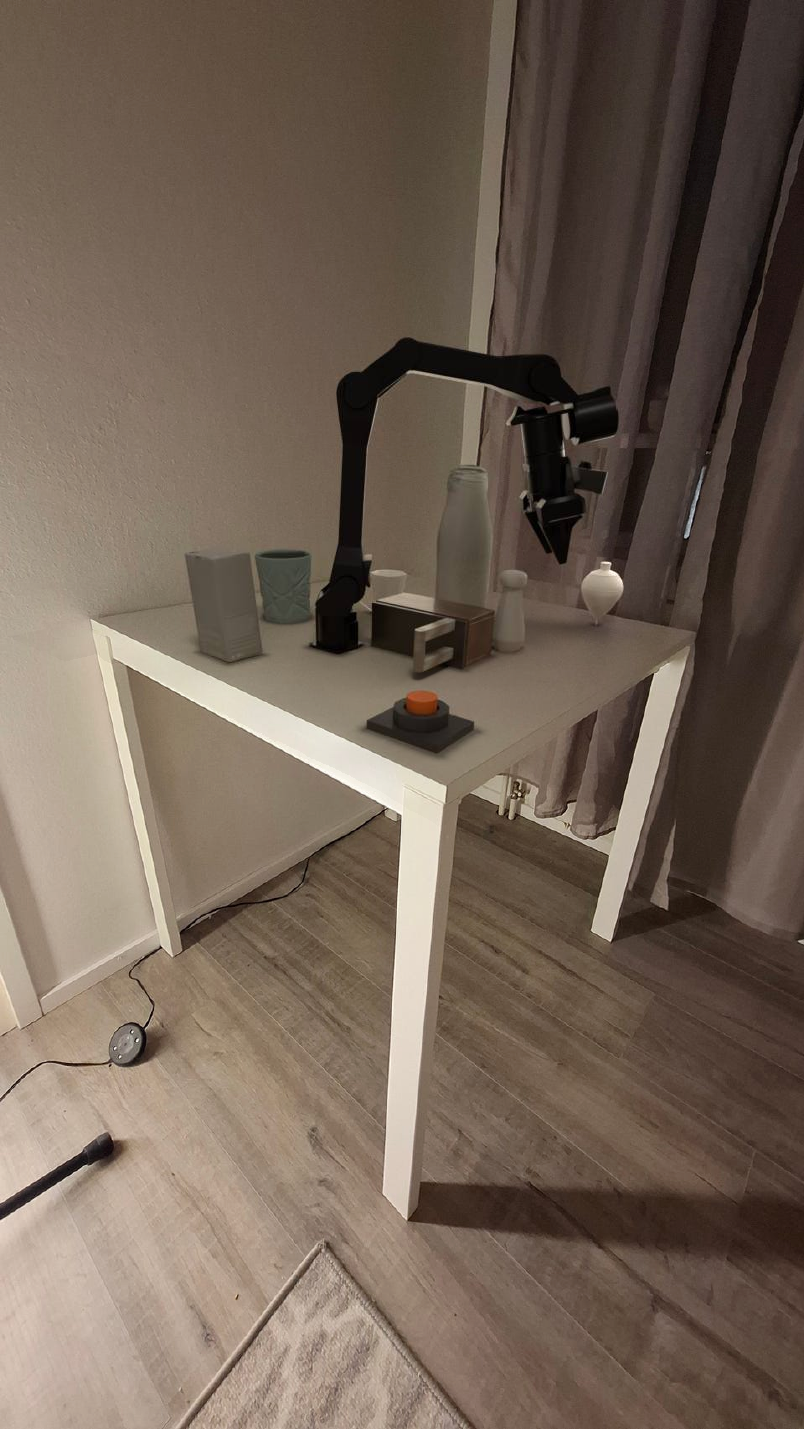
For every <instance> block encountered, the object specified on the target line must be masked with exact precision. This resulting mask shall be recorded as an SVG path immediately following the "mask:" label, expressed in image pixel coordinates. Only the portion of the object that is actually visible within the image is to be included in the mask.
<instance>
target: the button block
mask: <svg viewBox="0 0 804 1429" xmlns="http://www.w3.org/2000/svg"><path fill="white" fill-rule="evenodd" d="M474 729H475V721H474V720H471V719H467V718H464V717H460V716H458V715H454V714H451V713H450V705H448V704H447V703H446V702H444V700H442V699H439V698H437V711H436V712H435V713H431V714H414V713H411V712H408V711H407V710H406V697H403V698H400V699H398V700H396V701H395V702H394V704H393V707H390V708H388V709H386V710H385V711H382V712H381V713H378V714H376V715H375V716H371V717H370V718H368V719H366V730H369V731H371V732H374V733H376V734H379V735H382V736H384V737H388V738H391V739H394V740H395V741H400V742H402V743H405V744H407V745H411V746H413V747H416V748H419V749H422V750H425V751H428V752H430V753H433V754H436V755H438V754H440V753H441V752H443V751H444V750H446V749H447V748H448V747H450V746H452V745H453V744H455V743H456V742H458V741H459V740H461V739H462V738H464V737H465V736H467V735H468V734H470V733H472V732H473V731H474Z"/></svg>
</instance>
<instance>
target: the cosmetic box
mask: <svg viewBox="0 0 804 1429" xmlns="http://www.w3.org/2000/svg"><path fill="white" fill-rule="evenodd" d="M184 559H185V565H186V571H187V576H188V583H189V589H190V595H191V601H192V607H193V614H194V619H195V626H196V631H197V637H198V643H199V649H200V650H199V651H200V652H201V653H204V654H206V655H209V656H211V657H213V658H216V659H219V660H222V661H224V662H227V663H232V662H237V661H240V660H243V659H246V658H251V657H256V656H261V655H263V645H262V638H261V630H260V622H259V616H258V607H257V606H258V605H257V599H256V598H257V597H256V592H255V591H256V590H255V584H254V582H255V581H254V576H253V569H252V568H253V567H252V559H251V553H250V552H249V551H241V550H235V549H230V548H224V547H215V548H210V549H202V550H196V551H195V550H194V551H189V552H185V553H184Z"/></svg>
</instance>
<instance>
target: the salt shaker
mask: <svg viewBox="0 0 804 1429" xmlns="http://www.w3.org/2000/svg"><path fill="white" fill-rule="evenodd" d="M527 583H528V575H527V573H526V572H524V571H522V570H519V569H507V570H504V571H502V572H501V574H500V578H499V584H500V585H501V586H502V589H501V592H500V593H501V594H500V598H499V601H498V604H497V608H496V610H495V616H494V626H493V637H492V647H493V649H495V650H496V651H497V652H502V653H516V652H518V651H520V649H521V648H522V645H523V644H524V642H525V639H526V629H525V613H524V612H525V611H524V595H523V594H524V593H523V592H524V591H523V588H526V586H527Z"/></svg>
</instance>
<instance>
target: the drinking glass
mask: <svg viewBox="0 0 804 1429" xmlns="http://www.w3.org/2000/svg"><path fill="white" fill-rule="evenodd" d="M312 558H313V556H312V553H311V552H309V551H307V550H302V549H293V548H292V549H291V548H290V549H289V548H288V549H287V548H285V549H283V548H280V549H268V550H262V551H258V552H255V553H254V560H255V565H256V572H257V578H258V582H259V591H260V596H261V598H262V599H261V600H262V610H263V611H262V612H263V617H264V619H265V620H266V621H268V622H271V623H278V624H295V623H296V624H297V623H301V622H305V621H307V620H309V619H310V617H311V600H310V597H311V586H312V585H311V583H310V581H311V577H312Z"/></svg>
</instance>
